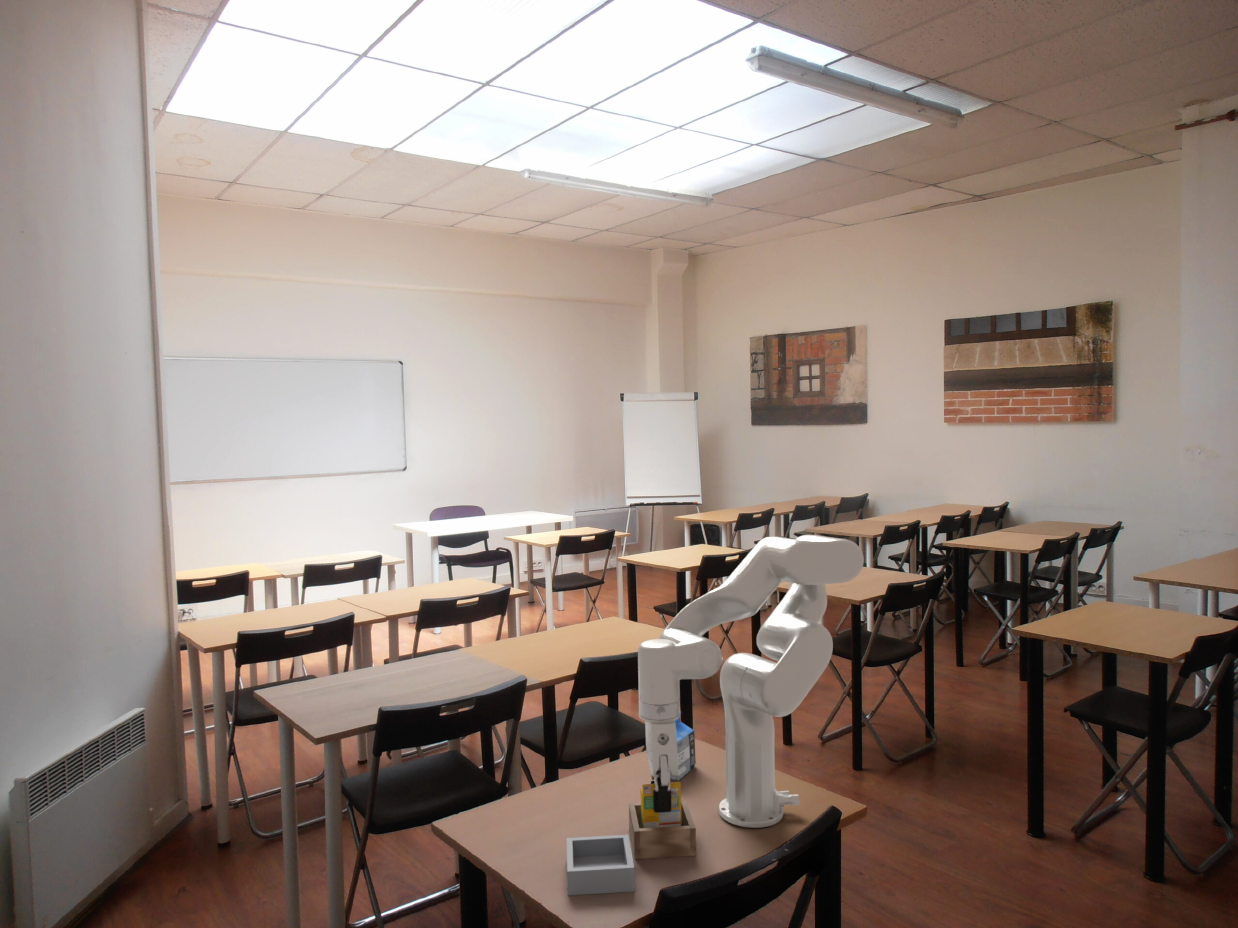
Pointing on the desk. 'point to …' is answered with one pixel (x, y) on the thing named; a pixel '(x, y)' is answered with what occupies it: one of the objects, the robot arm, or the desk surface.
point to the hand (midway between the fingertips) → (661, 805)
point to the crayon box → (662, 818)
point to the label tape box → (684, 749)
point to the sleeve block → (662, 836)
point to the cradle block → (599, 865)
